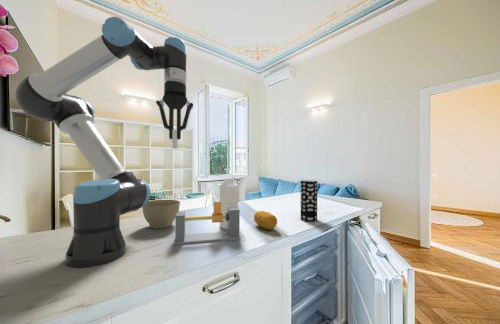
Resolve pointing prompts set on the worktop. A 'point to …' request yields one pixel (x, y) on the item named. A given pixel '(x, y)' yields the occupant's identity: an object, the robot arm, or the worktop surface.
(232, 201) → the milk
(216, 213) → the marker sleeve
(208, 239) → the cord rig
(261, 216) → the potato
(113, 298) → the worktop surface
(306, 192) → the white-spotted black cylinder
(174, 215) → the planter bowl
